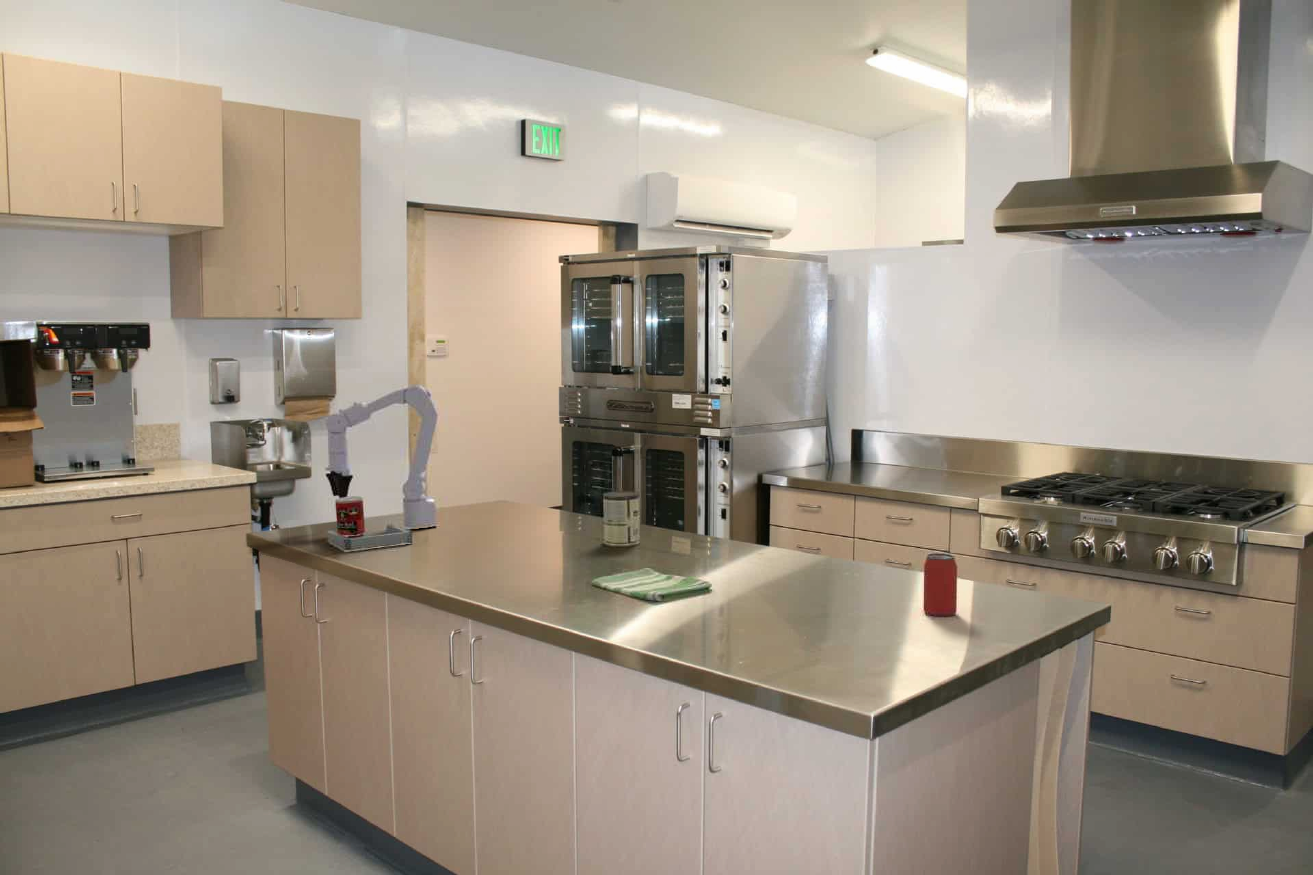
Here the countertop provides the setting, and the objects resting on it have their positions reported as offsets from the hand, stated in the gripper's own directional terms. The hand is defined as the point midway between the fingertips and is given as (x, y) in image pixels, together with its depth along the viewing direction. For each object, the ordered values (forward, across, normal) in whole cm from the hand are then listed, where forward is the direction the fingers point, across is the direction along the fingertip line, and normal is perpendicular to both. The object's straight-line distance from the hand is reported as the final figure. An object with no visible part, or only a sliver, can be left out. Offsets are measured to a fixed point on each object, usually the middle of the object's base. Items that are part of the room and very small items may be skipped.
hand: (340, 496), depth 309 cm
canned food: (+10, +10, 0) cm, 14 cm away
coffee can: (+11, +69, +58) cm, 91 cm away
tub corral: (+10, +26, 0) cm, 28 cm away
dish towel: (+11, +118, +35) cm, 124 cm away
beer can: (+11, +172, +70) cm, 186 cm away
